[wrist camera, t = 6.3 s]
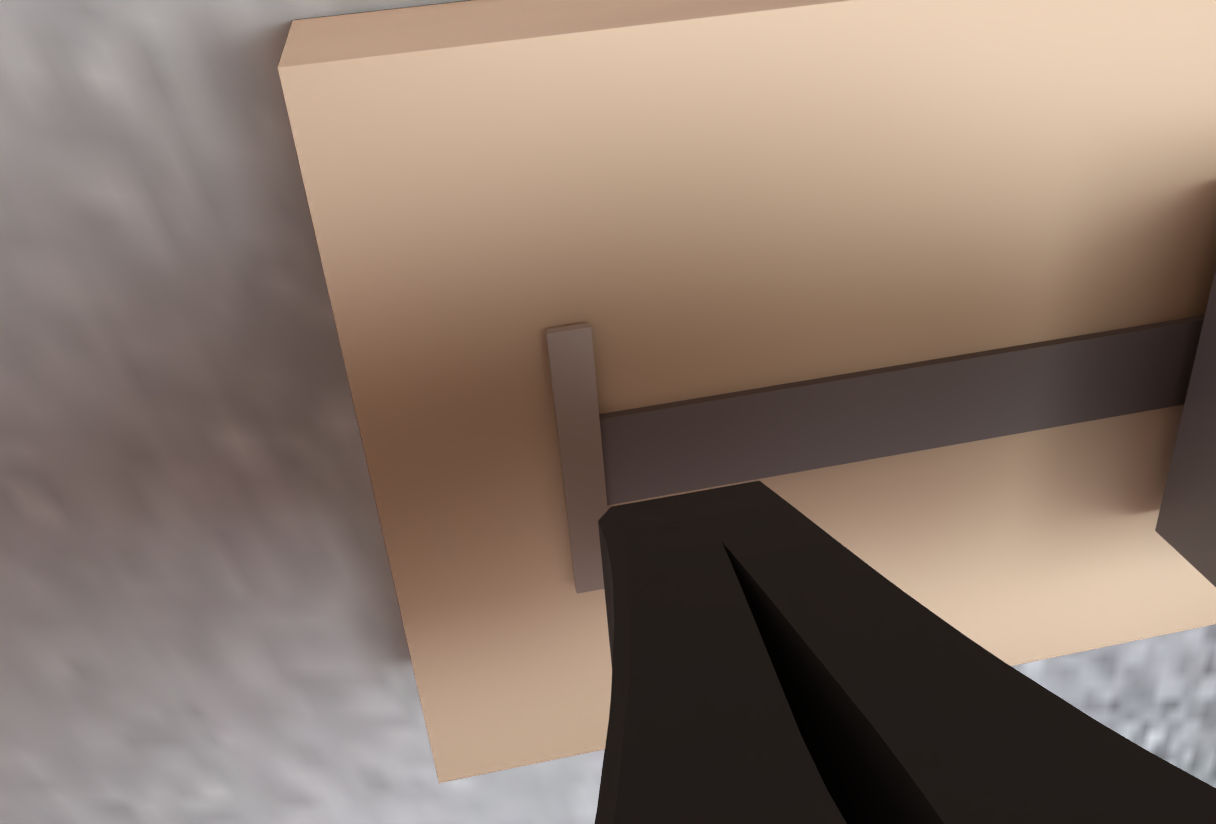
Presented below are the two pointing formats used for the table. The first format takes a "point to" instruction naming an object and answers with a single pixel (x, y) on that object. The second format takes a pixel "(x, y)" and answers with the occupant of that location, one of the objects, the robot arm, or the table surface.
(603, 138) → the fader console
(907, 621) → the robot arm
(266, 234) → the table surface
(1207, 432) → the fader knob
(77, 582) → the table surface
